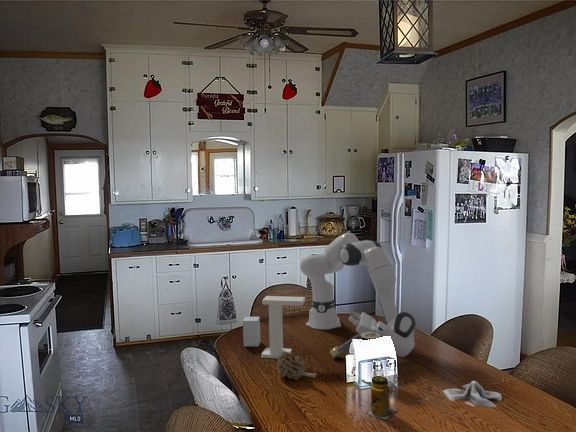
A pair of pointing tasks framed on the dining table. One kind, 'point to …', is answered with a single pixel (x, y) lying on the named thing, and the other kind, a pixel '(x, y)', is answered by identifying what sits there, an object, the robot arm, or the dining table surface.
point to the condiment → (380, 398)
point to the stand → (278, 323)
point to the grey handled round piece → (292, 366)
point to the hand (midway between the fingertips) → (349, 315)
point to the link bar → (343, 347)
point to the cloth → (473, 395)
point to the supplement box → (251, 331)
